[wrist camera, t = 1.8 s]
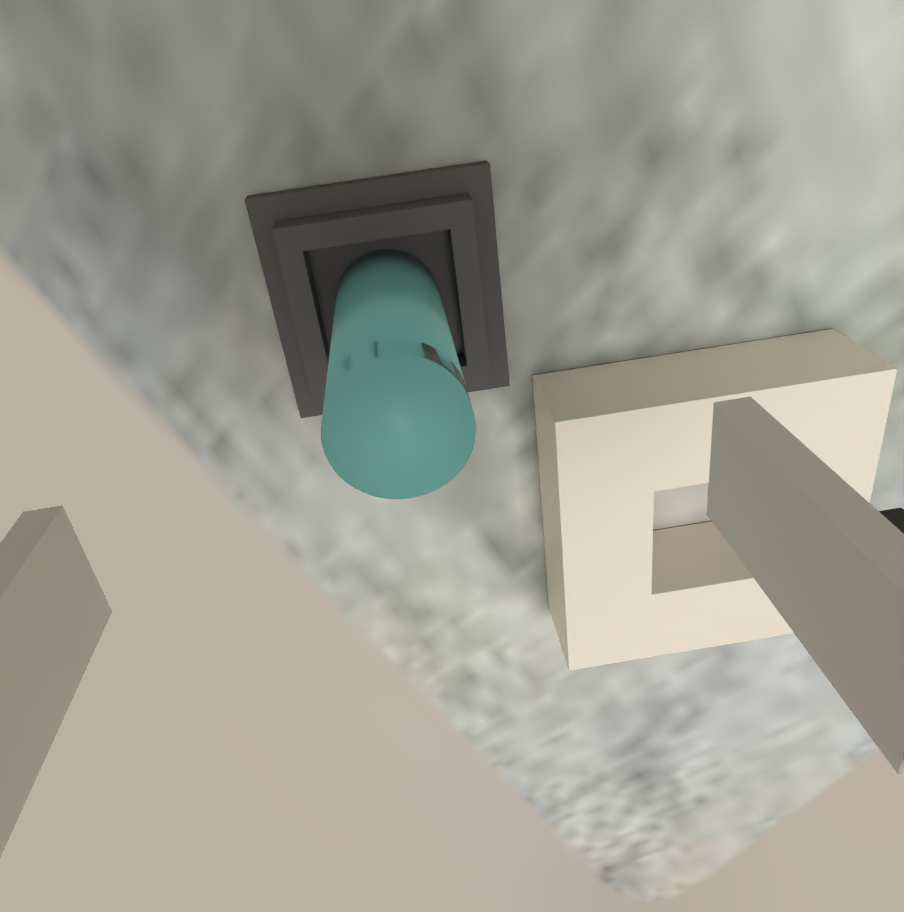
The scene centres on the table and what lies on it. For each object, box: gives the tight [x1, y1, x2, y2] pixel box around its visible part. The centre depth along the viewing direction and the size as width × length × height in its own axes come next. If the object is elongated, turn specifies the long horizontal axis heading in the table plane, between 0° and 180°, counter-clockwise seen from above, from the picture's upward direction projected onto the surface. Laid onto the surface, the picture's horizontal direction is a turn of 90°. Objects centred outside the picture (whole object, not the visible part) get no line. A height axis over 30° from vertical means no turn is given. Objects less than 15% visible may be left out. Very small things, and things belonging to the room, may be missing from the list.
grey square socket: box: [245, 161, 509, 418], centre depth 25 cm, size 8×8×2 cm
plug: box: [321, 249, 476, 499], centre depth 21 cm, size 4×4×10 cm
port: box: [532, 329, 897, 670], centre depth 30 cm, size 12×12×4 cm
